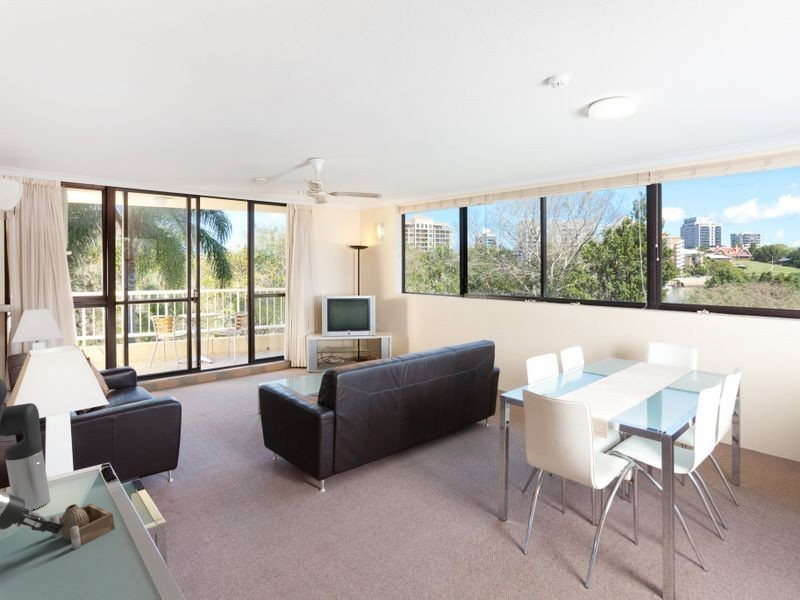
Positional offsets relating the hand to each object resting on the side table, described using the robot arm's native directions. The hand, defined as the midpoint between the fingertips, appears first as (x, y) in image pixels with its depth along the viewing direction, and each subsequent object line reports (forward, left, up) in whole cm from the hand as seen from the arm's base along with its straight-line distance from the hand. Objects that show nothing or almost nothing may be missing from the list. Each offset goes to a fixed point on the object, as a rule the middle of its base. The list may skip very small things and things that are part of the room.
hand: (58, 529), depth 127 cm
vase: (-1, +4, -5) cm, 6 cm away
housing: (0, +7, -4) cm, 8 cm away
